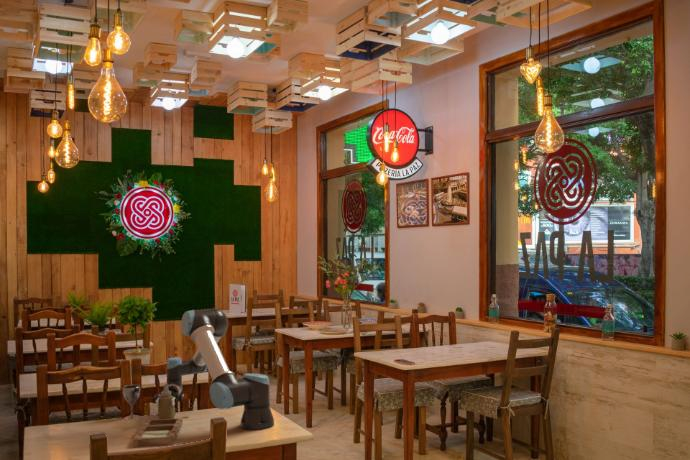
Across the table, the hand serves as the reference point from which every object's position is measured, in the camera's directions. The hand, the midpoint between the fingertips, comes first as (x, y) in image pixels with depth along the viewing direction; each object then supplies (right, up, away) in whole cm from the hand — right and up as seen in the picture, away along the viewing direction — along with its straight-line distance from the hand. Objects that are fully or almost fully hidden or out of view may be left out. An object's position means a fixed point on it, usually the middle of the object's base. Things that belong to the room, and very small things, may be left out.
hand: (164, 403), depth 302 cm
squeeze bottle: (0, -10, +5) cm, 11 cm away
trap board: (+2, -9, -17) cm, 20 cm away
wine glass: (-21, -11, +17) cm, 29 cm away
